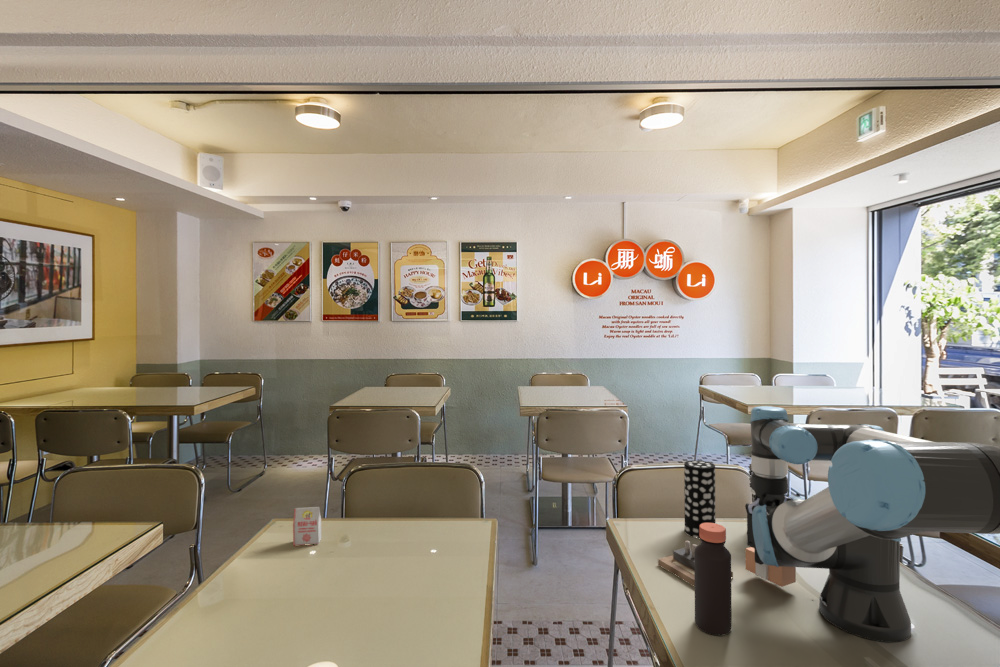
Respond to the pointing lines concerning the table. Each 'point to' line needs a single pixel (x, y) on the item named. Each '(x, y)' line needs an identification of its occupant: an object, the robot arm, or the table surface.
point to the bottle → (712, 580)
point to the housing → (771, 570)
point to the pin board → (682, 563)
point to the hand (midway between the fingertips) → (770, 574)
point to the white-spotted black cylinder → (699, 495)
